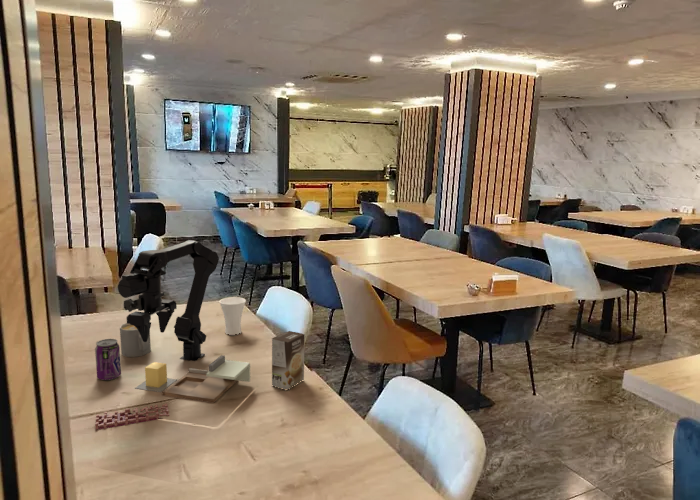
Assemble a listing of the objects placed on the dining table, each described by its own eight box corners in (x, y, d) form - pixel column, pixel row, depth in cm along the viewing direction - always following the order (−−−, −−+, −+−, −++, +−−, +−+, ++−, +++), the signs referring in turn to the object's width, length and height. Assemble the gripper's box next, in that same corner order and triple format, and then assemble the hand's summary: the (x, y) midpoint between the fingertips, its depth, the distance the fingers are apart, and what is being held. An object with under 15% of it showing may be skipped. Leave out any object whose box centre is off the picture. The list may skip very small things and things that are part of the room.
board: (190, 374, 171) (190, 367, 170) (238, 381, 167) (238, 374, 167) (162, 396, 156) (162, 388, 155) (213, 404, 152) (213, 396, 151)
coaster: (152, 377, 168) (152, 376, 168) (177, 381, 166) (177, 379, 166) (134, 389, 160) (134, 388, 159) (160, 393, 157) (160, 391, 157)
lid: (224, 377, 166) (223, 353, 164) (250, 380, 164) (249, 356, 162) (206, 392, 155) (206, 367, 154) (234, 396, 153) (234, 370, 152)
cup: (214, 333, 210) (213, 301, 207) (233, 326, 218) (232, 295, 216) (233, 339, 204) (232, 306, 202) (251, 331, 213) (251, 299, 210)
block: (154, 379, 165) (153, 362, 164) (167, 381, 164) (166, 363, 163) (145, 385, 161) (144, 367, 160) (158, 387, 160) (157, 369, 159)
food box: (287, 391, 161) (287, 342, 158) (271, 386, 164) (271, 338, 161) (304, 380, 169) (305, 333, 166) (288, 376, 172) (288, 330, 169)
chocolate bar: (171, 418, 144) (171, 412, 144) (95, 431, 137) (95, 425, 136) (169, 407, 151) (169, 400, 150) (97, 418, 143) (96, 412, 143)
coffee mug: (118, 350, 190) (116, 324, 189) (146, 344, 196) (145, 319, 194) (127, 362, 180) (125, 335, 178) (156, 356, 185) (155, 329, 184)
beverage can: (112, 383, 164) (109, 347, 162) (92, 380, 165) (89, 344, 163) (125, 373, 171) (123, 339, 168) (106, 371, 172) (104, 337, 170)
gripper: (147, 281, 176) (149, 325, 179) (109, 295, 158) (113, 344, 161) (176, 284, 173) (178, 328, 176) (141, 299, 156) (144, 348, 159)
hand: (153, 337), depth 168 cm, fingers open, 9 cm apart
